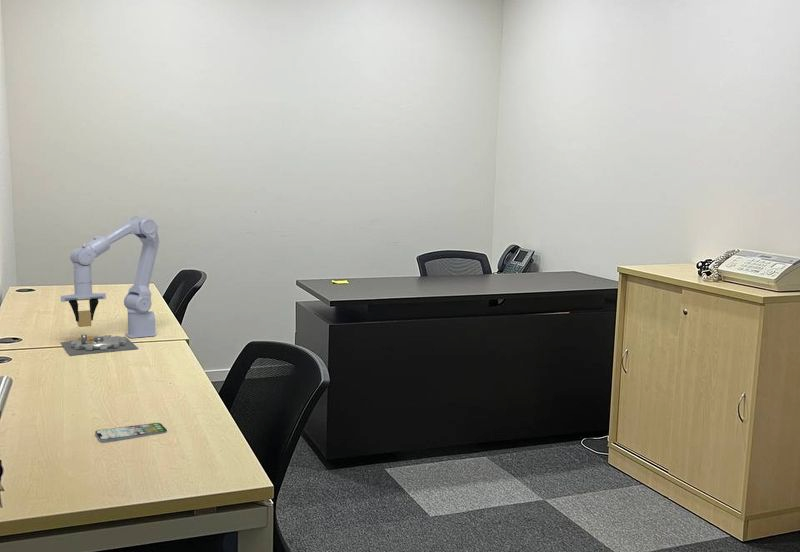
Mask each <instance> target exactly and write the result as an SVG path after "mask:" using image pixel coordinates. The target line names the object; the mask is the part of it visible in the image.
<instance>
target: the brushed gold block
mask: <svg viewBox="0 0 800 552" xmlns="http://www.w3.org/2000/svg"><path fill="white" fill-rule="evenodd" d="M78 316H79V322H76V323H77V326H78V328H81V327H82V328H87V327H92V321H91V312H90V309H89V310H78Z"/></svg>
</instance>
